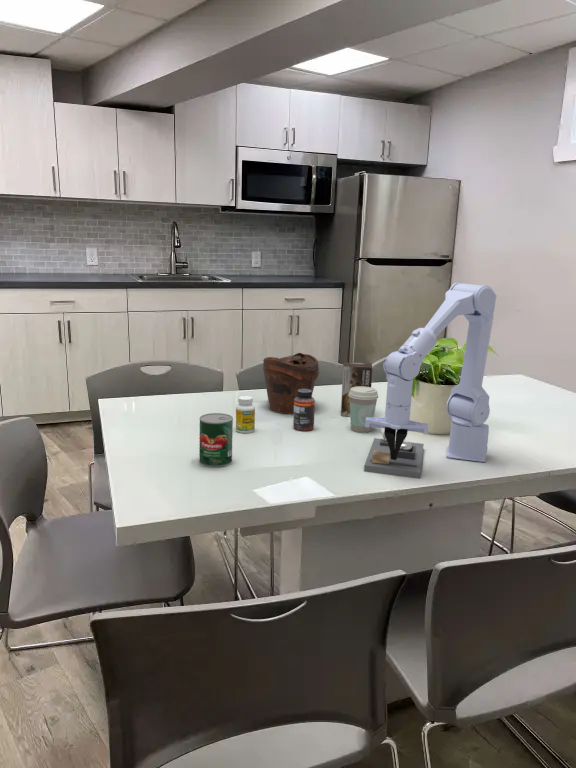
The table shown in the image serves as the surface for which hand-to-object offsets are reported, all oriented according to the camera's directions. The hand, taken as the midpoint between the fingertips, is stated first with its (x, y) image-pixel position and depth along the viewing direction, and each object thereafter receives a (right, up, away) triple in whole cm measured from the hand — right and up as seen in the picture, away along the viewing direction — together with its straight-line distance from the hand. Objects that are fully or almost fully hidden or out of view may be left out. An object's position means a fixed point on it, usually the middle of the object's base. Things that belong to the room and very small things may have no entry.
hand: (393, 458), depth 141 cm
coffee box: (-4, +8, +45) cm, 46 cm away
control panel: (+2, -1, +7) cm, 8 cm away
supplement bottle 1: (-37, +4, +25) cm, 45 cm away
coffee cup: (-4, +4, +30) cm, 31 cm away
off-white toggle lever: (0, +3, +14) cm, 14 cm away
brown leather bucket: (-25, +10, +49) cm, 56 cm away
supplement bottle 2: (-21, +5, +29) cm, 36 cm away
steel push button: (+4, +1, +6) cm, 7 cm away
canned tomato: (-43, -1, +2) cm, 43 cm away
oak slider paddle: (-3, -1, +1) cm, 3 cm away
